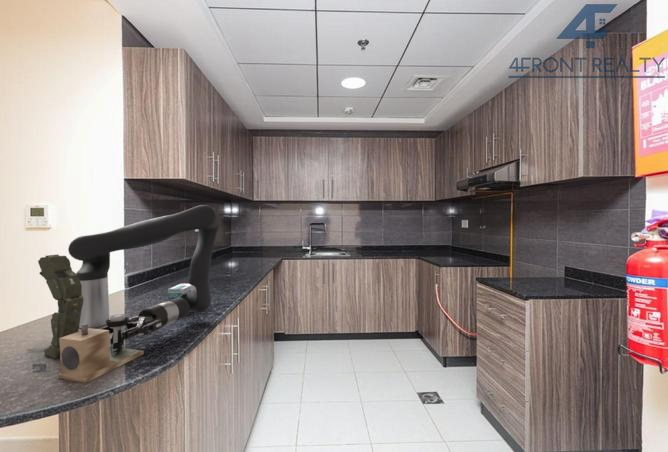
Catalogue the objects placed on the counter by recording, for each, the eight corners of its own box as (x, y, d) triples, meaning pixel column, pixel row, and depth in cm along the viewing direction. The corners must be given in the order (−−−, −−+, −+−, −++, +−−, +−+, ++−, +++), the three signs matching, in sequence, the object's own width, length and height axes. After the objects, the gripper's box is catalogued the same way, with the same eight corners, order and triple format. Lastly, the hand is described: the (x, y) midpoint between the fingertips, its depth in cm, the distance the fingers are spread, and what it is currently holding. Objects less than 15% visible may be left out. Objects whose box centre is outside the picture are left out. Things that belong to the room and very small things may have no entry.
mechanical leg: (101, 349, 92) (79, 249, 93) (74, 360, 85) (51, 252, 86) (71, 354, 96) (51, 259, 98) (42, 365, 89) (21, 262, 91)
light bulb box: (185, 315, 125) (184, 288, 125) (168, 315, 125) (167, 288, 125) (197, 307, 136) (196, 282, 136) (181, 308, 136) (180, 283, 136)
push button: (124, 355, 86) (125, 318, 86) (100, 358, 84) (101, 320, 84) (129, 346, 92) (130, 312, 92) (108, 349, 90) (108, 314, 90)
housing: (84, 383, 74) (82, 331, 74) (57, 378, 77) (55, 328, 76) (143, 354, 90) (141, 311, 89) (119, 351, 92) (117, 309, 92)
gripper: (141, 303, 102) (90, 319, 87) (177, 305, 99) (130, 323, 83) (142, 325, 103) (92, 346, 87) (178, 329, 99) (132, 351, 83)
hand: (111, 334), depth 85 cm, fingers open, 8 cm apart
